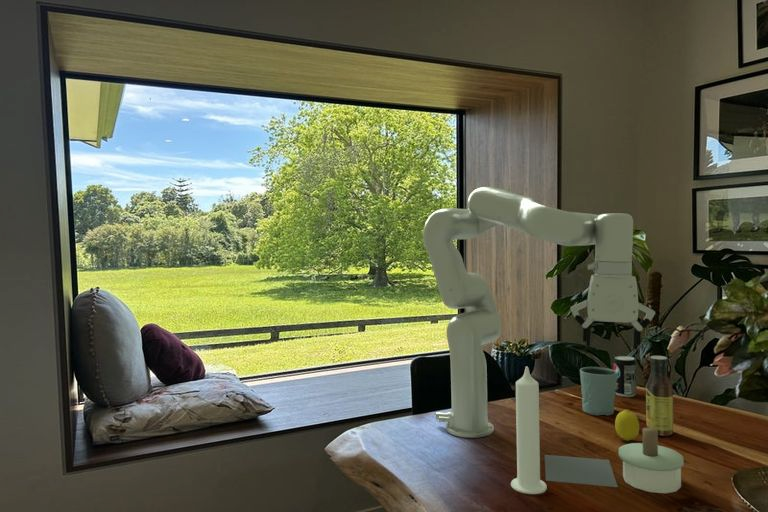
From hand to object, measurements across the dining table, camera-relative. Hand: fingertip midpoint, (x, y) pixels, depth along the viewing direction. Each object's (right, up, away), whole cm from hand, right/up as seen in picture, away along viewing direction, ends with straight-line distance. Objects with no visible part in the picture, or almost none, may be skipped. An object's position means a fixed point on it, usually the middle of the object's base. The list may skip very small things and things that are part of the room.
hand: (610, 346), depth 120 cm
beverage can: (+28, -25, +55) cm, 66 cm away
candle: (-21, -28, -9) cm, 36 cm away
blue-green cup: (+13, -26, +39) cm, 48 cm away
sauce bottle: (+21, -26, +20) cm, 39 cm away
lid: (+5, -22, -8) cm, 24 cm away
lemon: (+10, -26, +15) cm, 32 cm away
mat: (-8, -27, -2) cm, 28 cm away
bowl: (+5, -27, -8) cm, 28 cm away
